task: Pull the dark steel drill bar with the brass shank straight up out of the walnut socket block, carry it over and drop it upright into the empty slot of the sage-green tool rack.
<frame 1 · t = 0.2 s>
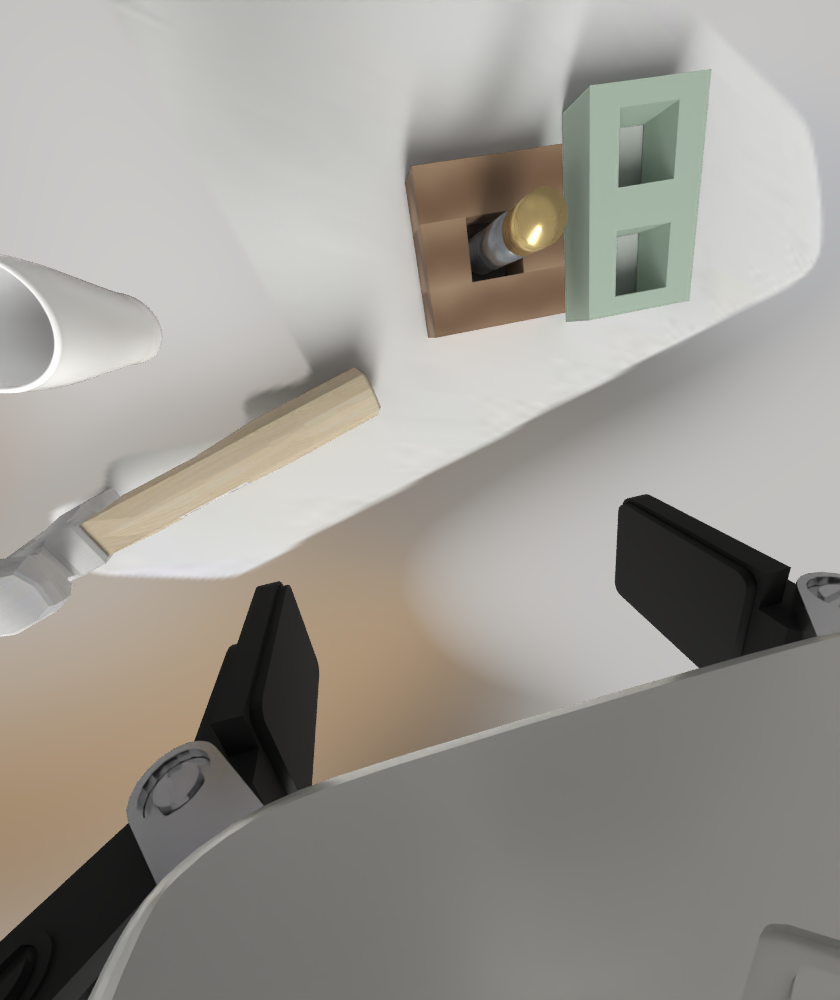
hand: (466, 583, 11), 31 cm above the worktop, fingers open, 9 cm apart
tool rack: (614, 218, 37), on the worktop
socket block: (481, 254, 36), on the worktop
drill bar: (507, 239, 30), in the socket block
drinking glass: (130, 329, 33), on the worktop
hammer: (232, 453, 39), on the worktop
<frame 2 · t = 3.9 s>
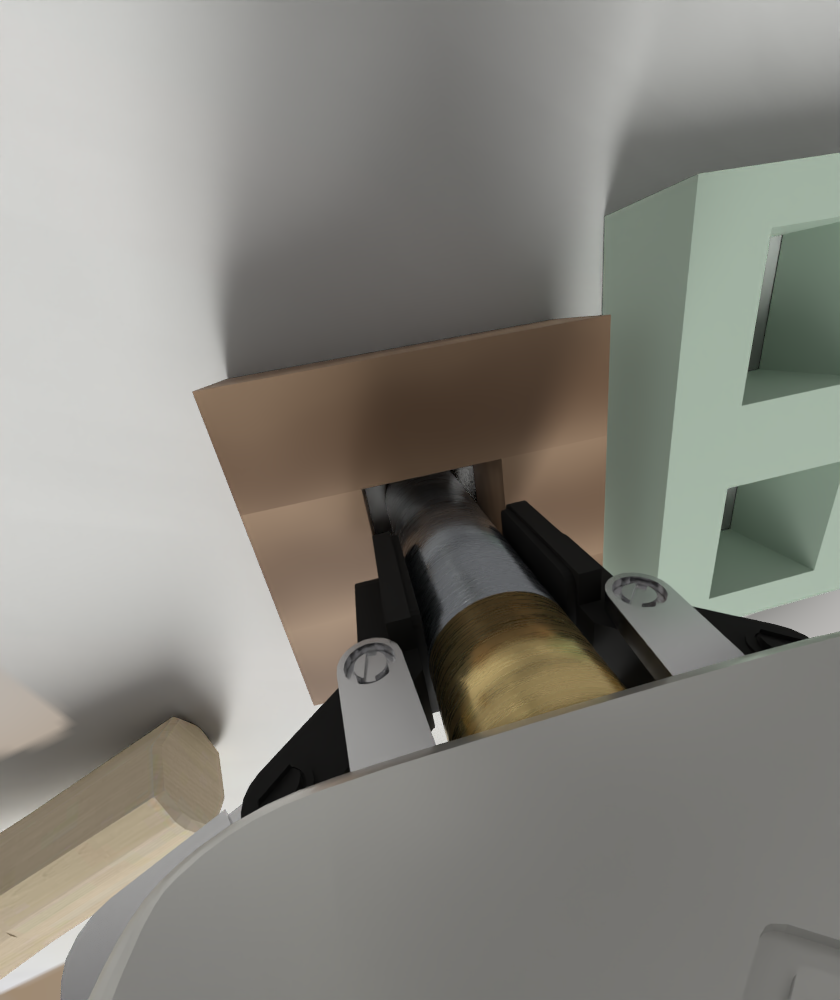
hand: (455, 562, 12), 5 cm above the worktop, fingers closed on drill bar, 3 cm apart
tool rack: (703, 414, 18), on the worktop
socket block: (423, 498, 17), on the worktop
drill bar: (463, 576, 11), in the socket block, touching gripper
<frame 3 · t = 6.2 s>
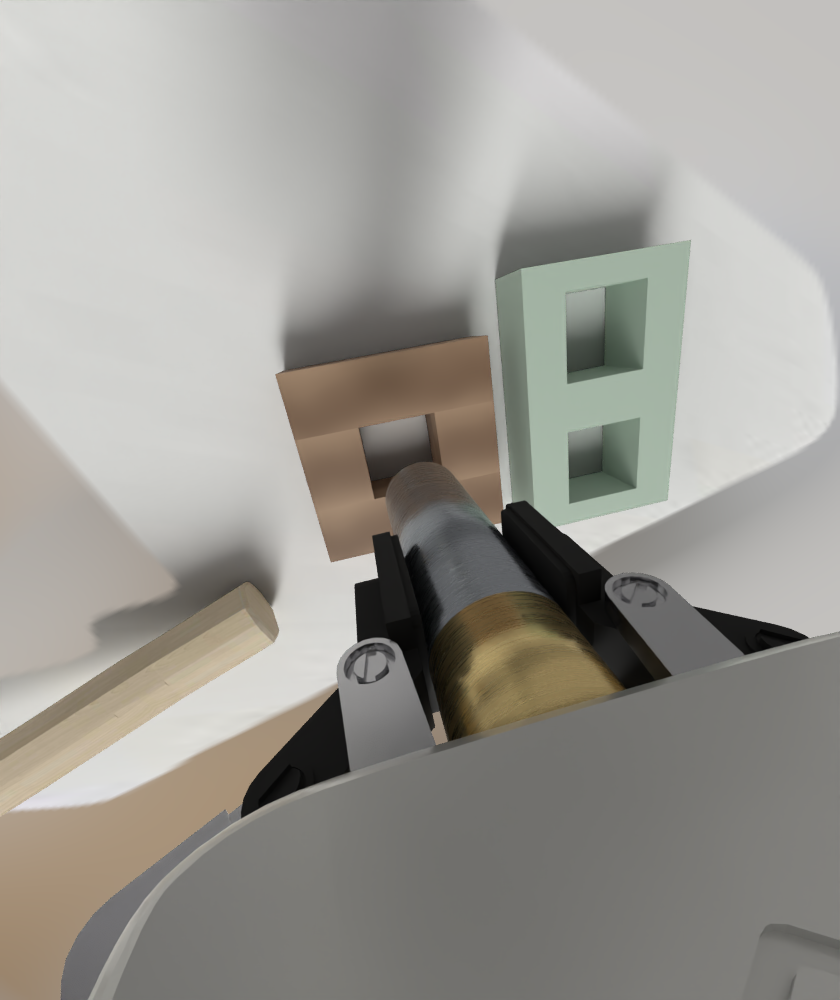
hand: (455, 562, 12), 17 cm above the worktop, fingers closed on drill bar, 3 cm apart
tool rack: (571, 393, 28), on the worktop
socket block: (396, 443, 27), on the worktop
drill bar: (462, 576, 11), point 18 cm above the worktop, touching gripper
hammer: (100, 673, 30), on the worktop
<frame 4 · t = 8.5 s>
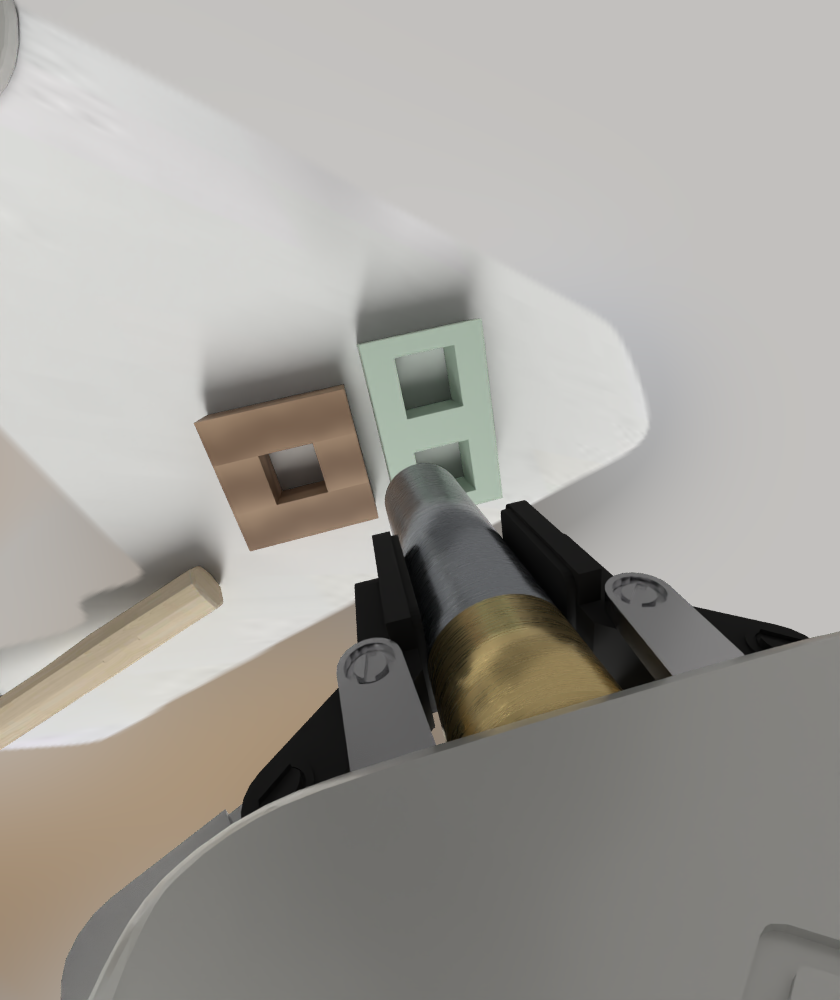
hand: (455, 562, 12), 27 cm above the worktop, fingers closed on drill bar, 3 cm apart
tool rack: (429, 420, 38), on the worktop
socket block: (298, 462, 37), on the worktop
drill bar: (462, 578, 11), point 28 cm above the worktop, touching gripper
hammer: (94, 638, 41), on the worktop
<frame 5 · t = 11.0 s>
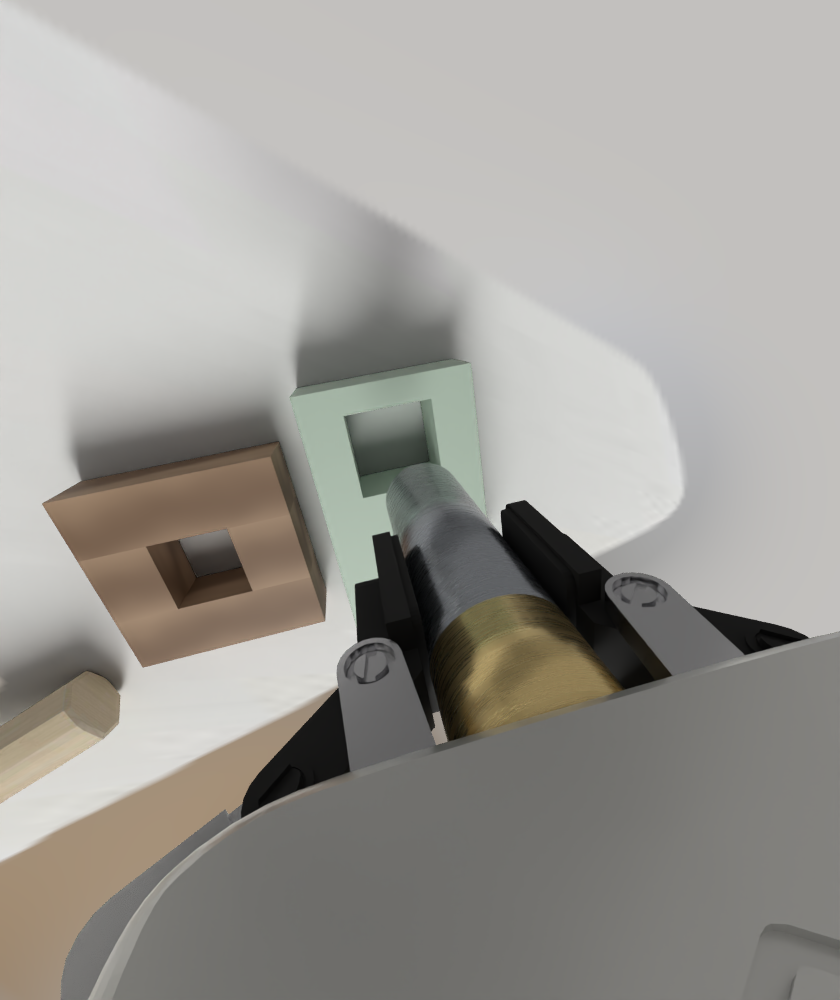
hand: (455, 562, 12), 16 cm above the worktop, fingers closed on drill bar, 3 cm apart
tool rack: (398, 488, 28), on the worktop
socket block: (217, 542, 27), on the worktop
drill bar: (463, 578, 11), point 17 cm above the worktop, touching gripper
when the fingers open (7 cm above the worktop, at t = 13.1 s): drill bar drops 1 cm, resting in tool rack.
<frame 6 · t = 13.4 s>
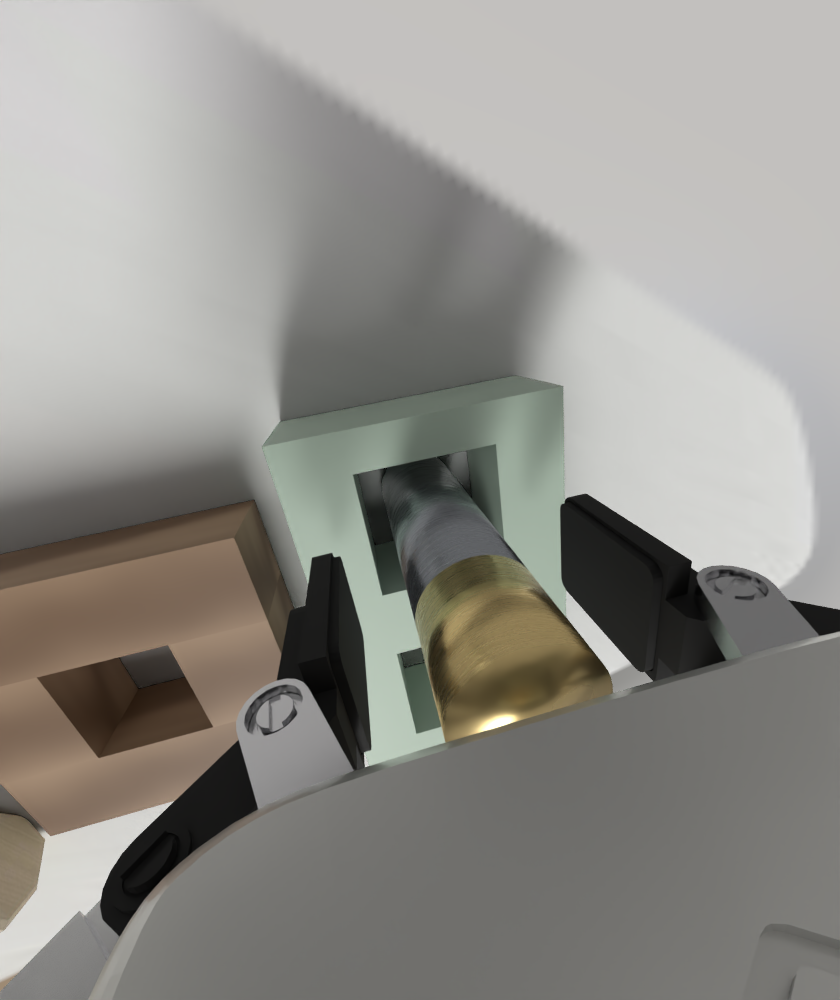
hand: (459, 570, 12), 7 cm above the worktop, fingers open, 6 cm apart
tool rack: (430, 559, 20), on the worktop
socket block: (167, 641, 19), on the worktop
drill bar: (448, 551, 13), in the tool rack
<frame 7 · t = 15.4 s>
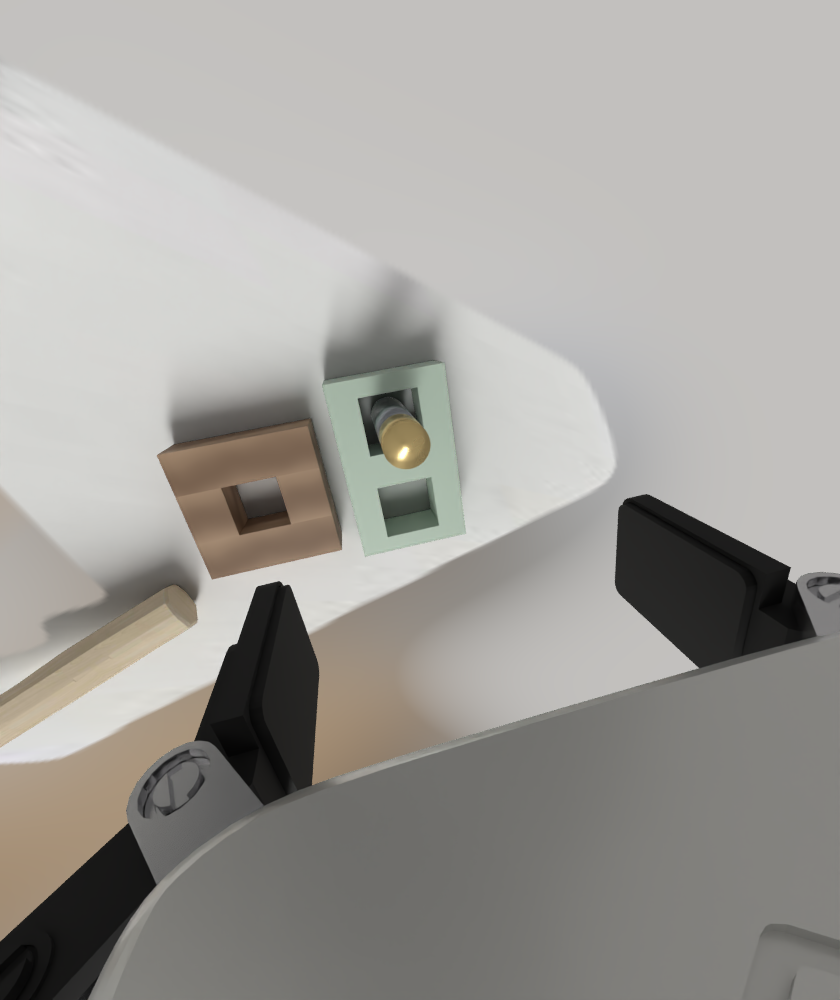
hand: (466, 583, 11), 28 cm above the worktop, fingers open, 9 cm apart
tool rack: (396, 455, 39), on the worktop
socket block: (264, 492, 38), on the worktop
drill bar: (395, 427, 31), in the tool rack
hammer: (69, 654, 41), on the worktop
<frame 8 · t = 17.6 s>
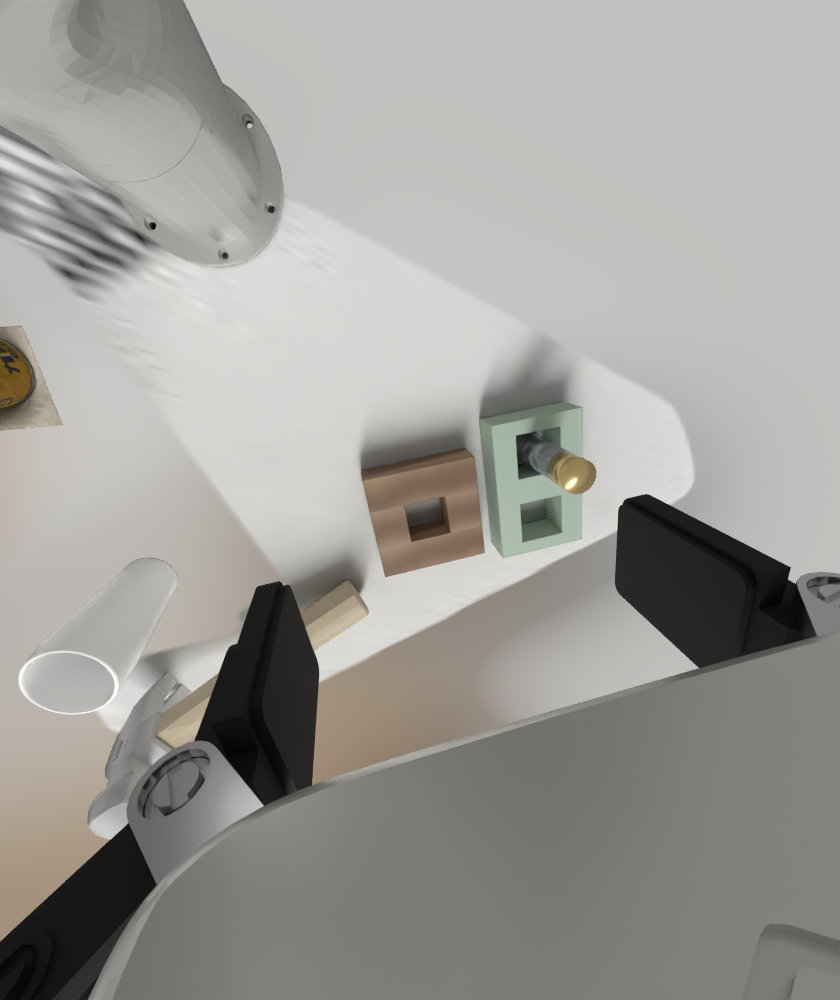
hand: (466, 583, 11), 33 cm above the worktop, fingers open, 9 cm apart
tool rack: (525, 476, 48), on the worktop
socket block: (422, 507, 47), on the worktop
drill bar: (547, 458, 41), in the tool rack
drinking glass: (154, 575, 44), on the worktop
condiment: (0, 380, 35), on the worktop
hammer: (257, 638, 50), on the worktop
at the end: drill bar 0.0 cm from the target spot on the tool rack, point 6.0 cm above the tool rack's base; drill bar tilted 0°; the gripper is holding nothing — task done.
